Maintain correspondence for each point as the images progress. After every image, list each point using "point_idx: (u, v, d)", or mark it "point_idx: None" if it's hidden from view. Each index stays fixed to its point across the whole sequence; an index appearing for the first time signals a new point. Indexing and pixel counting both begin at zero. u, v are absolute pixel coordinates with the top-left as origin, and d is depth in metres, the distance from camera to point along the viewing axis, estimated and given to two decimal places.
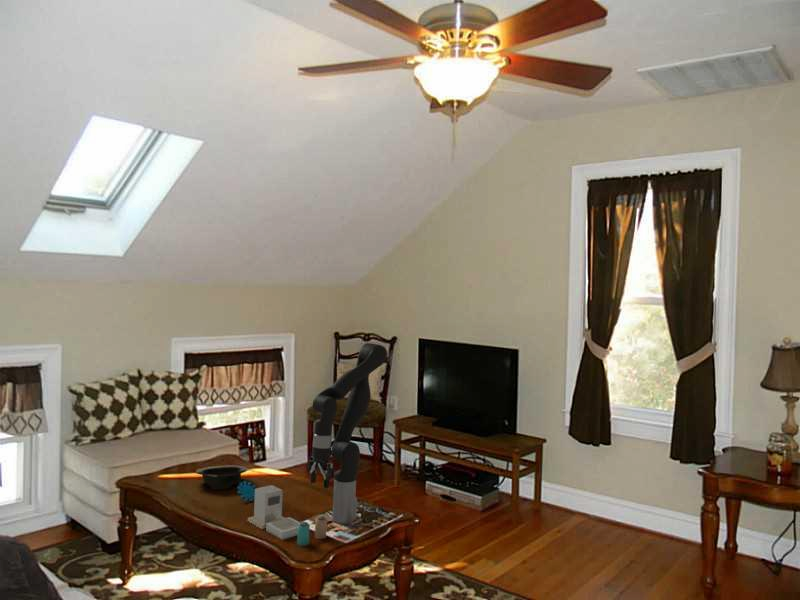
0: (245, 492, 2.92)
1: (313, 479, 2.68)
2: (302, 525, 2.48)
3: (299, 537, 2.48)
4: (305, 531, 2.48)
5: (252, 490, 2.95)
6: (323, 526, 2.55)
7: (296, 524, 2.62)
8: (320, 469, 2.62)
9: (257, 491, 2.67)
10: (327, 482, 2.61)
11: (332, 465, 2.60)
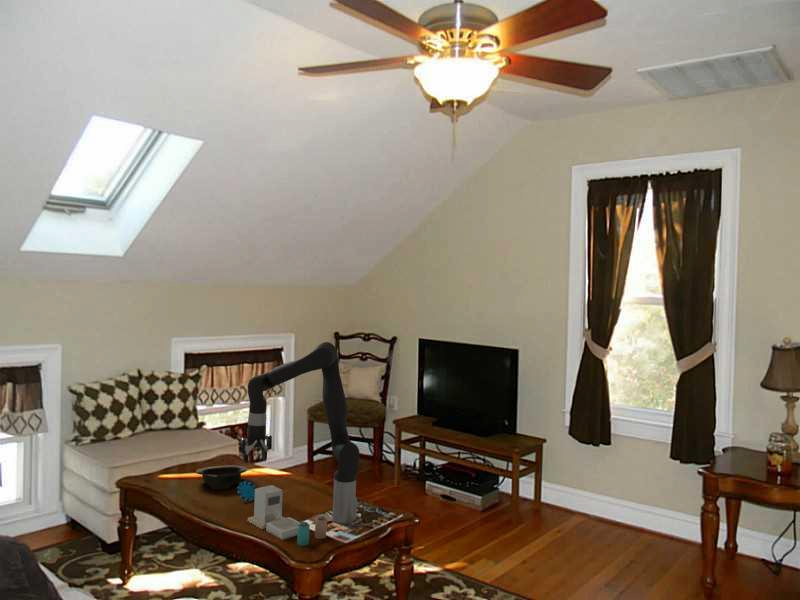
0: (245, 492, 2.92)
1: None
2: (302, 525, 2.48)
3: (299, 537, 2.48)
4: (305, 531, 2.48)
5: (252, 490, 2.95)
6: (323, 526, 2.55)
7: (296, 524, 2.62)
8: (262, 444, 2.75)
9: (257, 491, 2.67)
10: None
11: None
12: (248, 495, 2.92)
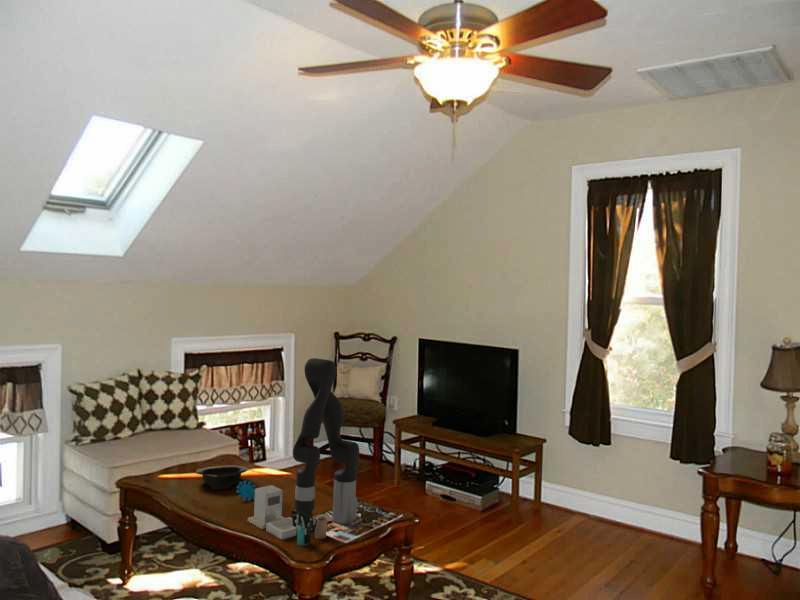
0: (244, 491, 2.93)
1: None
2: (302, 525, 2.48)
3: (299, 537, 2.48)
4: None
5: (251, 490, 2.96)
6: (323, 526, 2.55)
7: None
8: None
9: (257, 491, 2.67)
10: None
11: None
12: (247, 495, 2.93)
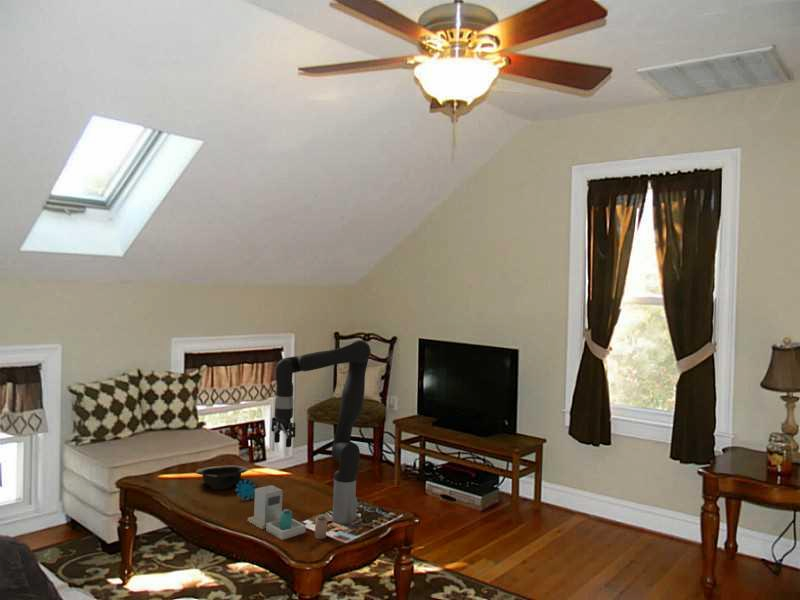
0: (243, 490, 2.94)
1: None
2: (285, 512, 2.58)
3: (282, 523, 2.58)
4: (288, 518, 2.58)
5: (251, 489, 2.97)
6: (323, 526, 2.55)
7: (296, 524, 2.62)
8: None
9: (257, 491, 2.67)
10: None
11: None
12: (246, 494, 2.94)
